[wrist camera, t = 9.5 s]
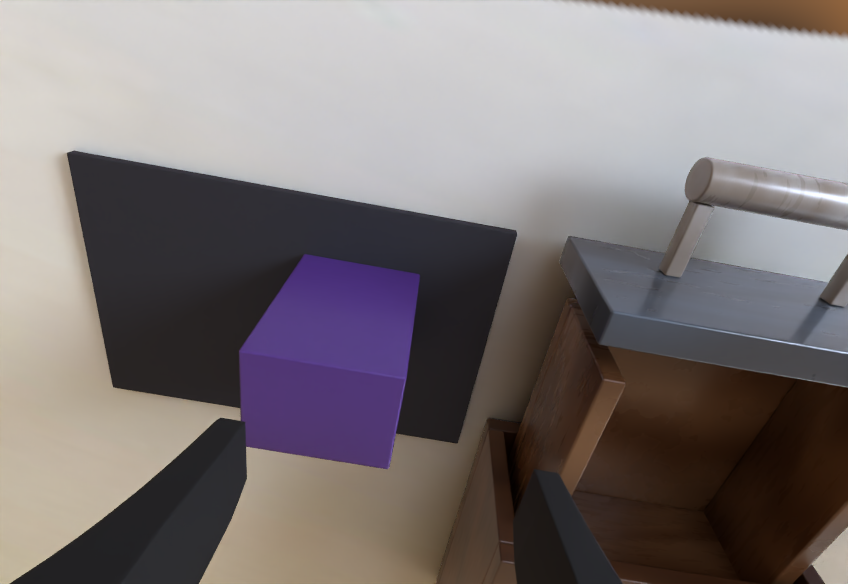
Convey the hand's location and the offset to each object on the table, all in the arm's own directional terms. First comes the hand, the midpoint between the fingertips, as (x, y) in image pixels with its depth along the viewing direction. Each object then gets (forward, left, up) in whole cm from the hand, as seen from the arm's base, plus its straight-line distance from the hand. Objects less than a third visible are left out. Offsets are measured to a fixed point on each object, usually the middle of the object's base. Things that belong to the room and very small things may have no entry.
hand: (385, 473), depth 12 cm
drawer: (-12, +1, -9) cm, 15 cm away
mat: (+5, +3, -10) cm, 12 cm away
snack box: (+2, +1, -10) cm, 10 cm away
